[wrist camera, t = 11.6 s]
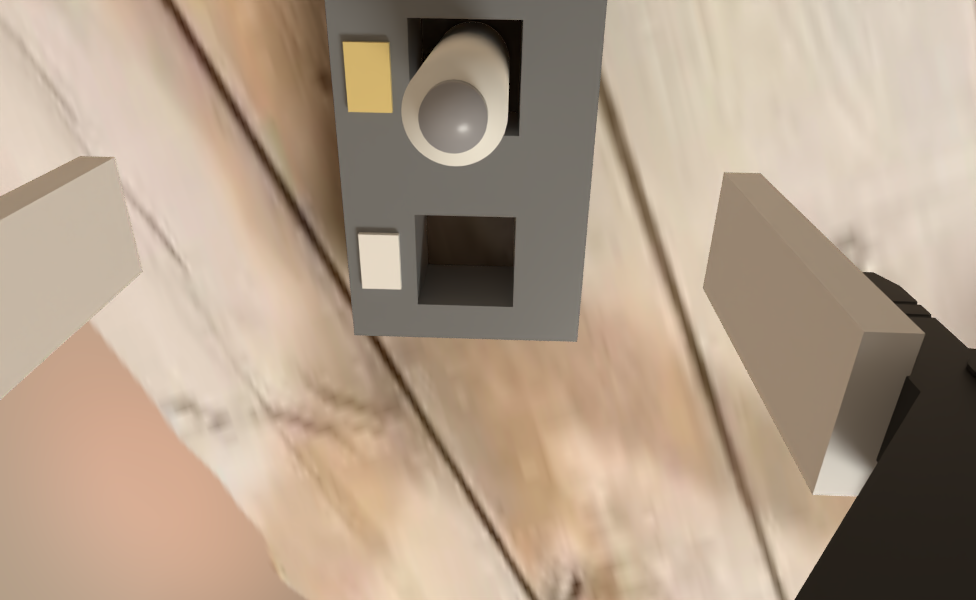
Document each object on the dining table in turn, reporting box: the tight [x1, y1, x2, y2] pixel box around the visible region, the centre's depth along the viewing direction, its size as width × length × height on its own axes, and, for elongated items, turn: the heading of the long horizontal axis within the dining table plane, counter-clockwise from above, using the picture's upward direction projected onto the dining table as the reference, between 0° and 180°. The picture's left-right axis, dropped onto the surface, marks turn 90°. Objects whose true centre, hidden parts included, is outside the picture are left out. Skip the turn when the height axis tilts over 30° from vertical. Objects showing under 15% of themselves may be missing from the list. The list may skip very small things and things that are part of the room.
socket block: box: [325, 0, 607, 342], centre depth 35 cm, size 12×18×5 cm, turn 179°
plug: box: [401, 21, 510, 166], centre depth 29 cm, size 4×4×13 cm
